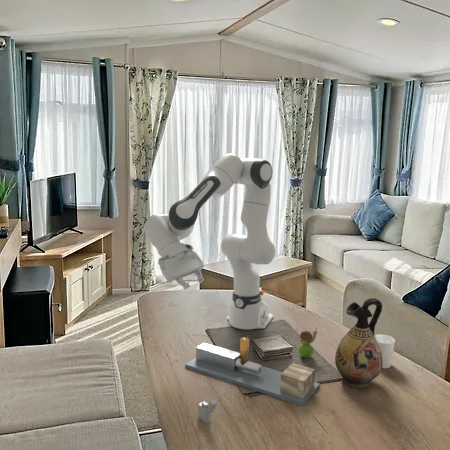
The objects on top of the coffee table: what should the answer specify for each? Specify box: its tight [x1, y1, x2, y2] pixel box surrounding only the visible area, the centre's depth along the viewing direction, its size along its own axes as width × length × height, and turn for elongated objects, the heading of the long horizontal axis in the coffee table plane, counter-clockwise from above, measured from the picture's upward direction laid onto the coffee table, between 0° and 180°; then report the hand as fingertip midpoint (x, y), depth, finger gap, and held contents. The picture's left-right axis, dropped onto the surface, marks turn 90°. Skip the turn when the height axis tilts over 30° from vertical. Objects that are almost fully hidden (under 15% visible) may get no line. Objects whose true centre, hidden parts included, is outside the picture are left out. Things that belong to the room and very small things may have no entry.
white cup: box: [374, 333, 396, 369], centre depth 180 cm, size 8×8×10 cm
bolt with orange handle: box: [235, 336, 263, 374], centre depth 173 cm, size 3×24×11 cm, turn 58°
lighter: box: [197, 399, 218, 424], centre depth 143 cm, size 7×2×8 cm, turn 38°
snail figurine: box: [298, 327, 318, 359], centre depth 185 cm, size 5×6×12 cm
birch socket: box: [280, 362, 316, 398], centre depth 160 cm, size 9×8×6 cm
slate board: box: [184, 356, 320, 407], centre depth 170 cm, size 14×45×1 cm, turn 58°
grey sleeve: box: [195, 342, 240, 372], centre depth 176 cm, size 5×16×5 cm, turn 58°
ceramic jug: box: [334, 297, 383, 389], centre depth 166 cm, size 17×15×30 cm
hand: (195, 284), depth 177 cm, fingers open, 8 cm apart
